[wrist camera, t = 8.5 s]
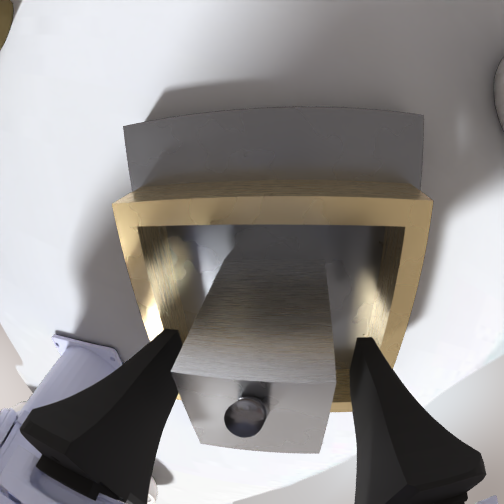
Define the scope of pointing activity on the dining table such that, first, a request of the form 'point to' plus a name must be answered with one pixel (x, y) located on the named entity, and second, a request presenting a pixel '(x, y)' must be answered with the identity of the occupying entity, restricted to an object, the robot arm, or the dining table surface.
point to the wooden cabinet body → (279, 213)
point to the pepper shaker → (5, 19)
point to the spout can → (261, 357)
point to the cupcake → (499, 92)
